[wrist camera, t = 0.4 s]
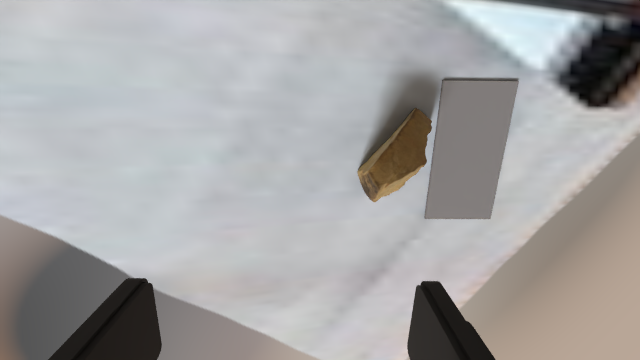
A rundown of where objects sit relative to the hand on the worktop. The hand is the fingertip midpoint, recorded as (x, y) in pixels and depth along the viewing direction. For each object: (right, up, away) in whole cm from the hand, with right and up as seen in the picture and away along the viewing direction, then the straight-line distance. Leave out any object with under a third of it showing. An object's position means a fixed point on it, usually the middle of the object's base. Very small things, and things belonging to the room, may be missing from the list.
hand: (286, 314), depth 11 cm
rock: (+10, +8, +24) cm, 27 cm away
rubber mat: (+18, +8, +24) cm, 31 cm away
